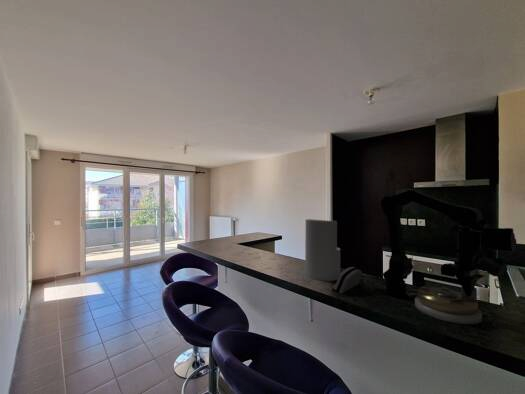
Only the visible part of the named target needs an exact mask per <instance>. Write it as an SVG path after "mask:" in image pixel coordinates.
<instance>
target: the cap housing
mask: <svg viewBox="0 0 525 394" xmlns="http://www.w3.org/2000/svg"><path fill="white" fill-rule="evenodd" d="M414 307H415V308H416V309H417V310H418V311H419V312H421V313H423V314H425V315H426V316H429V317H432V318H435V319H437V320H440V321H441V320H442V321H444V322H449V323H453V324H461V325H478V324H480V323H482V322H483V312H482V310H481V309H479V308H478V312H477V313H476V314H473V315H458V314H451V313H446V312H442V311H439V310H435V309H433V308H430V307H428V306H425V305H424V304H422V303H421V302H419V300H418V295H417V296H415V298H414Z"/></svg>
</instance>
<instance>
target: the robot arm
mask: <svg viewBox="0 0 525 394" xmlns="http://www.w3.org/2000/svg"><path fill="white" fill-rule="evenodd" d="M412 202H414V203H417V204H418V205H422V206H424V207H426V208H429V209H432V210H434V211H437V212H439V213H441V214H443V215H445V216H447V217H448V219H451V221H454V222H455V223H456V224H454V226H452V227H451V228H449V231H450V232H456V233H457V239H456V240H457V242H456V243H457V247H456V248H454V249H453V251H454V252H456V253H457V255H456V257H457V258H456V260H454V261H453V262H452V263H451V262H450V263H449V262H448V263H443V264H441V266H440V272H441V273H444V274H447V275H451V276H455V279H457V281H458V282H459V284H460V286H461V289H462V288H463V290H464V292H465V294H466V296H469V297H470V296H471V294H472V292H473V289H474V287H475V286H476V284H477V282H478V281H479V280H480V279H482V278H485V277H486V275H484V274H480V273H481V272H485V273H488V274H489V275H490V276H492V277H499V276H500V277H501V276H503V274H504V273H505V271H508V265H507V261H506V259H503V258H502V257H495V258H494V259H493V258H489V257H487V256H486V253H485V252H484V250H482V249H481V247H482V246H483V247H486V249H487V250H493V251H502V252H508V253H515V252H516V250H517V238H516V235H515V232H514V228H511V227H505V228H503V227H502V228H501V227H500V228H499V227H492V226H491V224H489V223H488V222H487V221H486V220H485V219H484V216H483V215H484V214H482V211H480V210H479V209H478V208H476V207H475V208H474V207H471V206H470V207H469V206H464V205H460V204H453V203H450V202H446V201H444V200H442V199H439V198H436V197H433V196H431V195H428V194H426V193H423V192H420V191H418V190H416V189H409V190H408V189H407V190H406V191H404V192H400V193H396V194H394V195H392V196H391V195H389V196H388V195H386V196H384V197H383V198H382V199H381V201H380V205H381V209H382V212H383V214H384V216H385V217H386V222H387V226H388V229H387V230H388V235H389V236H388V237H389V242H390V251H391V254H390V257H389V261H388V269H387V270H386V271H384V272H383V273H382V278H383V279H384V280H385V290H383V293H384V294H386V295H388V296H391V297H393V298H395V299H396V298H397V299H400V298H405V297H409V294H407V284H406V280H407V279H408V276H410V274H413V273H412V272H413V269H414V265H413V258H412V257H408V255H407V253H406V249H405V243H404V234H403V229H402V221H401V217H402V213H403V211H404V206H406V205H409V204H410V203H412ZM479 271H481V272H479ZM475 288H476V287H475Z"/></svg>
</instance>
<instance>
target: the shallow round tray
mask: <svg viewBox="0 0 525 394" xmlns="http://www.w3.org/2000/svg"><path fill="white" fill-rule="evenodd" d="M477 295H478V290H477V287H474V289H473V292H472V294H471V296H470V297H469V296H466V294H465V292H464V290H463V288H462V287H461V292H460V291H458V290H453V289H450V288H449V287H445V286H442V288H441V287H433V286H429V287H428V286H425V285H423V286H420V288H418V290H417V296H418V300H419V302H421V303H422V304H424V305H425V306H428V307H430V308H433V309H435V310H439V311H442V312H446V313H451V314H458V315H473V314H476V313H477V312H478V309H479V308H478V296H477Z"/></svg>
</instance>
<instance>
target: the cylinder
mask: <svg viewBox="0 0 525 394" xmlns="http://www.w3.org/2000/svg"><path fill="white" fill-rule="evenodd" d="M304 242H305V254H304V255H305V257H304V258H305V259H304V261H305V264H304V265H305V268H304V269H305V270H304V274H305V276H306V277H307V278H309V279H313V280H317V281H322V282H327V281H328V282H330V281H337V280H338V277H339V275H340V274H341V248H340V247H338V220H326V219H325V220H323V219H313V218H311V219H310V218H309V219H305V241H304Z"/></svg>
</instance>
